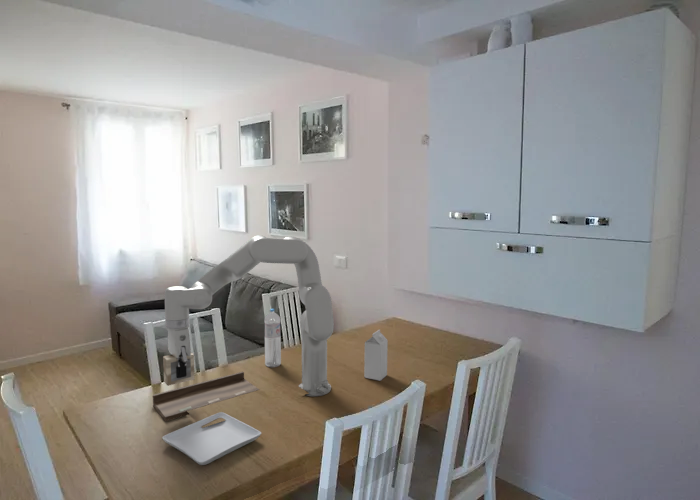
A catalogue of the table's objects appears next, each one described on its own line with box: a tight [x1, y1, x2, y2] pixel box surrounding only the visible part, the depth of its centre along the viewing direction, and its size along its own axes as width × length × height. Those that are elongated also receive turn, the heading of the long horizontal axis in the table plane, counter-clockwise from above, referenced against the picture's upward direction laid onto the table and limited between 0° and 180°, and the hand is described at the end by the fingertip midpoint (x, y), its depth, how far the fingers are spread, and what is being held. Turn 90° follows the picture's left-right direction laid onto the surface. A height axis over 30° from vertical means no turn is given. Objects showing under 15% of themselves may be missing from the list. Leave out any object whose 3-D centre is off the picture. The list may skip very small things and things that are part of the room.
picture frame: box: [162, 352, 195, 387], centre depth 154 cm, size 4×9×9 cm, turn 129°
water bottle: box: [263, 308, 282, 368], centre depth 195 cm, size 7×7×25 cm
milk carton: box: [363, 329, 389, 381], centre depth 183 cm, size 7×7×19 cm
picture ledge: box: [152, 371, 260, 422], centre depth 162 cm, size 14×34×4 cm, turn 129°
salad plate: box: [161, 411, 262, 466], centre depth 134 cm, size 21×21×3 cm
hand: (179, 374), depth 154 cm, fingers closed on picture frame, 4 cm apart
